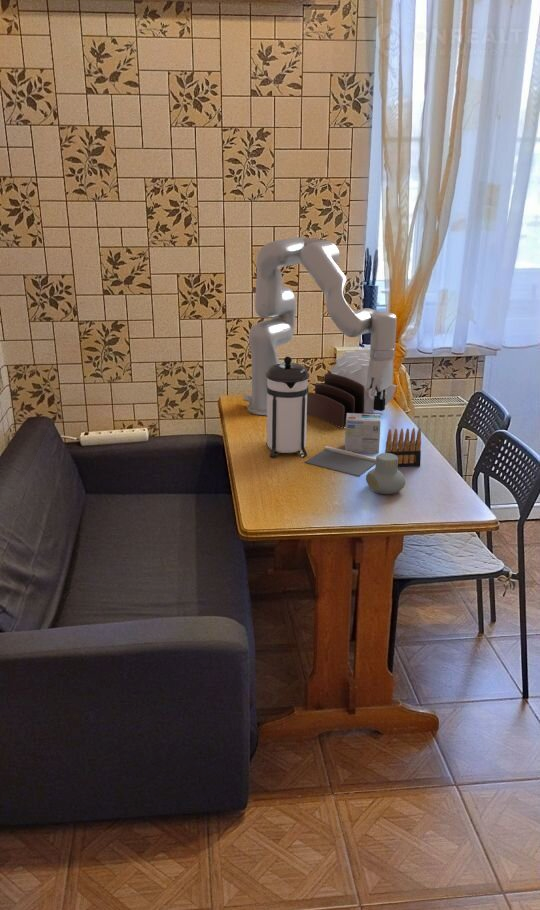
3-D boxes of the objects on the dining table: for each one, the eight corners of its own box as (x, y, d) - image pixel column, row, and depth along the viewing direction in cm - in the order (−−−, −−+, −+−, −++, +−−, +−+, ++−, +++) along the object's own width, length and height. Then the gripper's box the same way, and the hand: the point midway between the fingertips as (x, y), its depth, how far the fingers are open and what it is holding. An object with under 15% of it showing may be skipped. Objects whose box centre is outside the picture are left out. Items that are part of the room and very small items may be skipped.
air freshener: (362, 484, 214) (364, 451, 211) (388, 480, 217) (390, 447, 213) (381, 500, 205) (383, 466, 201) (408, 496, 208) (411, 462, 204)
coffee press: (322, 450, 238) (326, 355, 226) (288, 464, 227) (289, 366, 215) (281, 435, 249) (282, 345, 237) (246, 449, 238) (246, 355, 226)
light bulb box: (378, 445, 242) (380, 413, 237) (379, 453, 235) (381, 420, 231) (344, 444, 242) (346, 411, 238) (344, 452, 236) (346, 419, 232)
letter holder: (325, 407, 275) (326, 369, 270) (364, 423, 261) (366, 383, 256) (303, 413, 270) (304, 374, 264) (342, 429, 255) (344, 388, 250)
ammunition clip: (418, 464, 228) (421, 426, 223) (420, 466, 226) (423, 428, 222) (383, 465, 227) (386, 427, 222) (384, 468, 225) (387, 429, 220)
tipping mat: (304, 462, 228) (304, 459, 228) (326, 448, 238) (326, 445, 238) (358, 476, 219) (359, 473, 219) (379, 461, 229) (379, 458, 229)
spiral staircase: (359, 426, 269) (338, 400, 291) (404, 403, 269) (379, 379, 291) (340, 383, 260) (320, 360, 282) (387, 359, 260) (362, 338, 282)
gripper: (381, 346, 244) (378, 401, 251) (360, 356, 232) (357, 414, 239) (403, 349, 240) (399, 405, 247) (382, 360, 228) (379, 418, 235)
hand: (379, 409), depth 243 cm, fingers closed
